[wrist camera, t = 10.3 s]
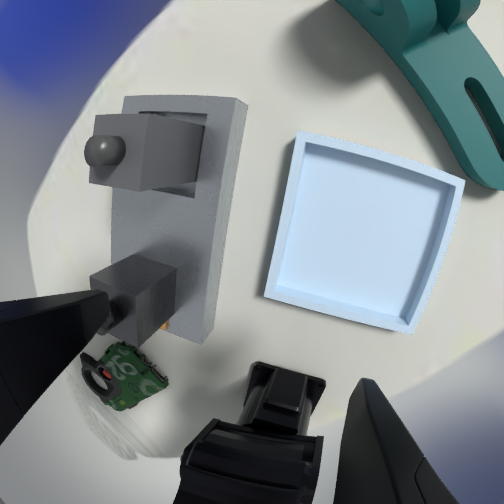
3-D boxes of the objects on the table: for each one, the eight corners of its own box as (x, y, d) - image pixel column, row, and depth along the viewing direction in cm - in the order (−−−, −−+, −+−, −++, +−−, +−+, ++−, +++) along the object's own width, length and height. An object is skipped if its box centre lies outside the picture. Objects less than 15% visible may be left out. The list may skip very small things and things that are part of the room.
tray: (407, 322, 19) (411, 334, 18) (269, 286, 21) (263, 296, 20) (455, 178, 15) (465, 180, 14) (300, 133, 18) (297, 130, 16)
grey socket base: (213, 328, 24) (158, 398, 16) (129, 296, 26) (63, 343, 18) (248, 105, 18) (182, 67, 10) (143, 100, 20) (57, 85, 11)
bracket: (332, -1, 14) (324, -66, 6) (395, -27, 11) (408, -85, 4) (475, 203, 15) (537, 227, 8) (528, 164, 13) (592, 172, 5)
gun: (106, 319, 27) (170, 389, 27) (114, 313, 28) (176, 381, 28) (70, 366, 33) (116, 416, 34) (76, 361, 35) (121, 410, 35)
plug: (199, 181, 20) (118, 196, 12) (154, 173, 21) (69, 186, 13) (207, 126, 19) (128, 110, 11) (161, 123, 19) (75, 113, 12)
